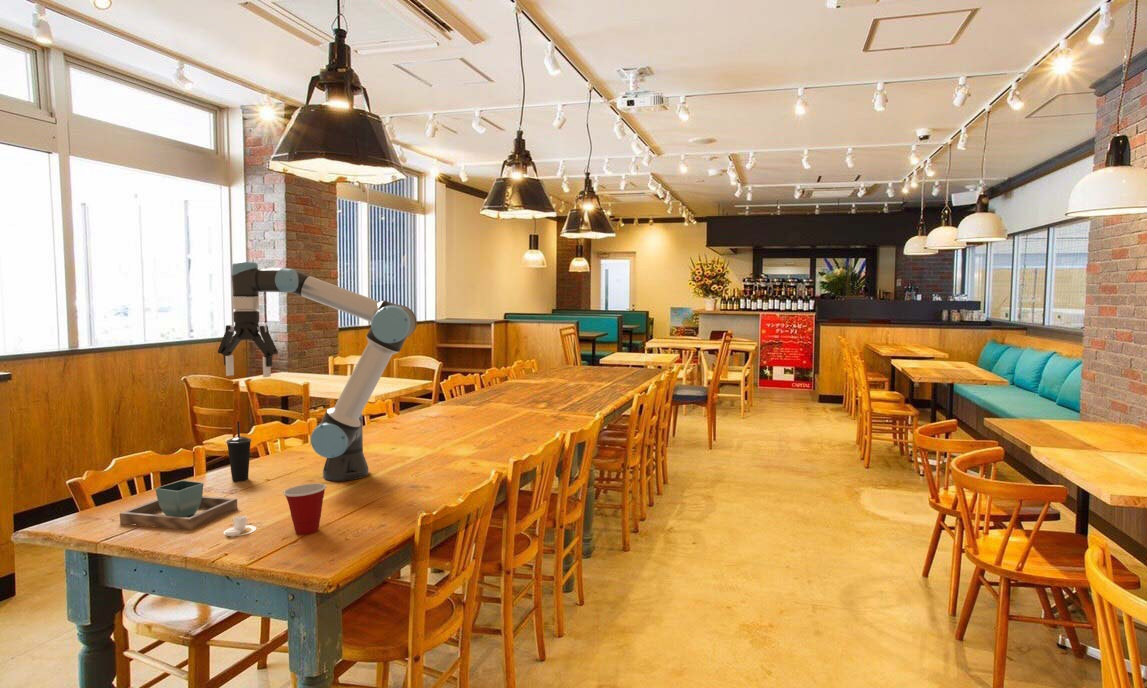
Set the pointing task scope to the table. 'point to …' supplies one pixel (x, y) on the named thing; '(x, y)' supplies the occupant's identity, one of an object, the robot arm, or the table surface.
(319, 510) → the plastic cup
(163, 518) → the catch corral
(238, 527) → the teacup and saucer
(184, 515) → the flower pot
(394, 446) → the table surface
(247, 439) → the drinking cup
